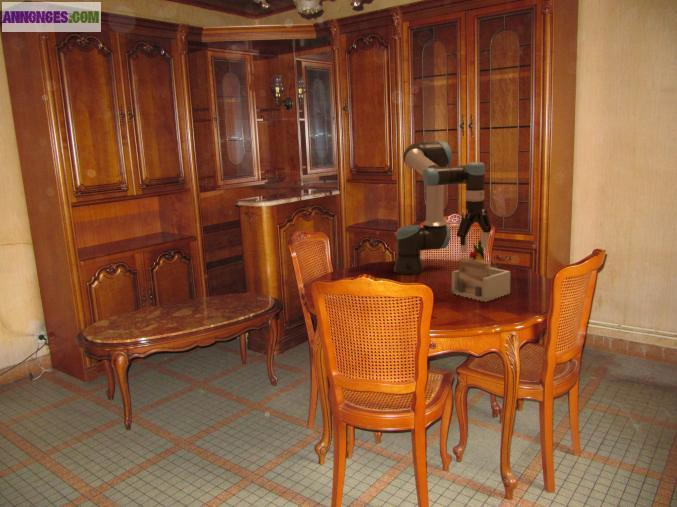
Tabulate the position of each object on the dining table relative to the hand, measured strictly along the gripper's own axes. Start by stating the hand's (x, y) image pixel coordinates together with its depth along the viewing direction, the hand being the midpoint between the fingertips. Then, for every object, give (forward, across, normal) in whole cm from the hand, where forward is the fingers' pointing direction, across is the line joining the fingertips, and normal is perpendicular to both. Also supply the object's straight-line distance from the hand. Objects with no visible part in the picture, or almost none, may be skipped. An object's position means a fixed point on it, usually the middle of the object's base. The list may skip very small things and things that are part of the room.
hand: (474, 249), depth 245 cm
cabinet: (+20, +4, 0) cm, 21 cm away
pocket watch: (+21, +25, +6) cm, 33 cm away
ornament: (+21, +38, +29) cm, 52 cm away
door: (+19, 0, 0) cm, 19 cm away
